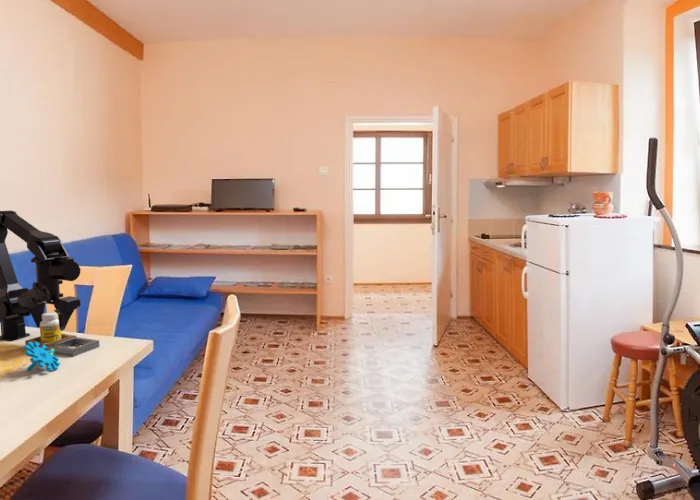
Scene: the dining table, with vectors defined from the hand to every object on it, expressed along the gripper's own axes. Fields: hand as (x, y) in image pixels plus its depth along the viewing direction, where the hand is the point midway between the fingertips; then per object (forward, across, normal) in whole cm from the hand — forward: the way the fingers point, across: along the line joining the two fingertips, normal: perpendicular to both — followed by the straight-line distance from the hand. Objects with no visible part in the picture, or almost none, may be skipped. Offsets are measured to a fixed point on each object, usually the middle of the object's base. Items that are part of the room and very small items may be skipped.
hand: (50, 328), depth 150 cm
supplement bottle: (+5, 0, 0) cm, 5 cm away
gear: (+5, +15, -16) cm, 23 cm away
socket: (+5, +10, -1) cm, 11 cm away
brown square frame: (+5, 0, 0) cm, 5 cm away
